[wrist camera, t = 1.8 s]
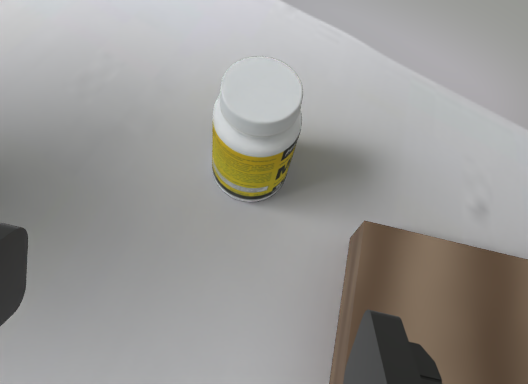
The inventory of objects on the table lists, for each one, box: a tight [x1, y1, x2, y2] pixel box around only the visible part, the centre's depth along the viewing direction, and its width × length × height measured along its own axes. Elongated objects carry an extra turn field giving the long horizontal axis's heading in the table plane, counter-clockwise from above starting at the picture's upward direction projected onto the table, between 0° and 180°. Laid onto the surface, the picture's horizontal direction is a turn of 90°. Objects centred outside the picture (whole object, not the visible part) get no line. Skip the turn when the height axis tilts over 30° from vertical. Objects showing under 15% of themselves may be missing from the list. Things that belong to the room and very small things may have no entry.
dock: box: [329, 221, 528, 384], centre depth 24 cm, size 14×10×5 cm
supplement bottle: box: [212, 56, 303, 202], centre depth 26 cm, size 5×5×8 cm
